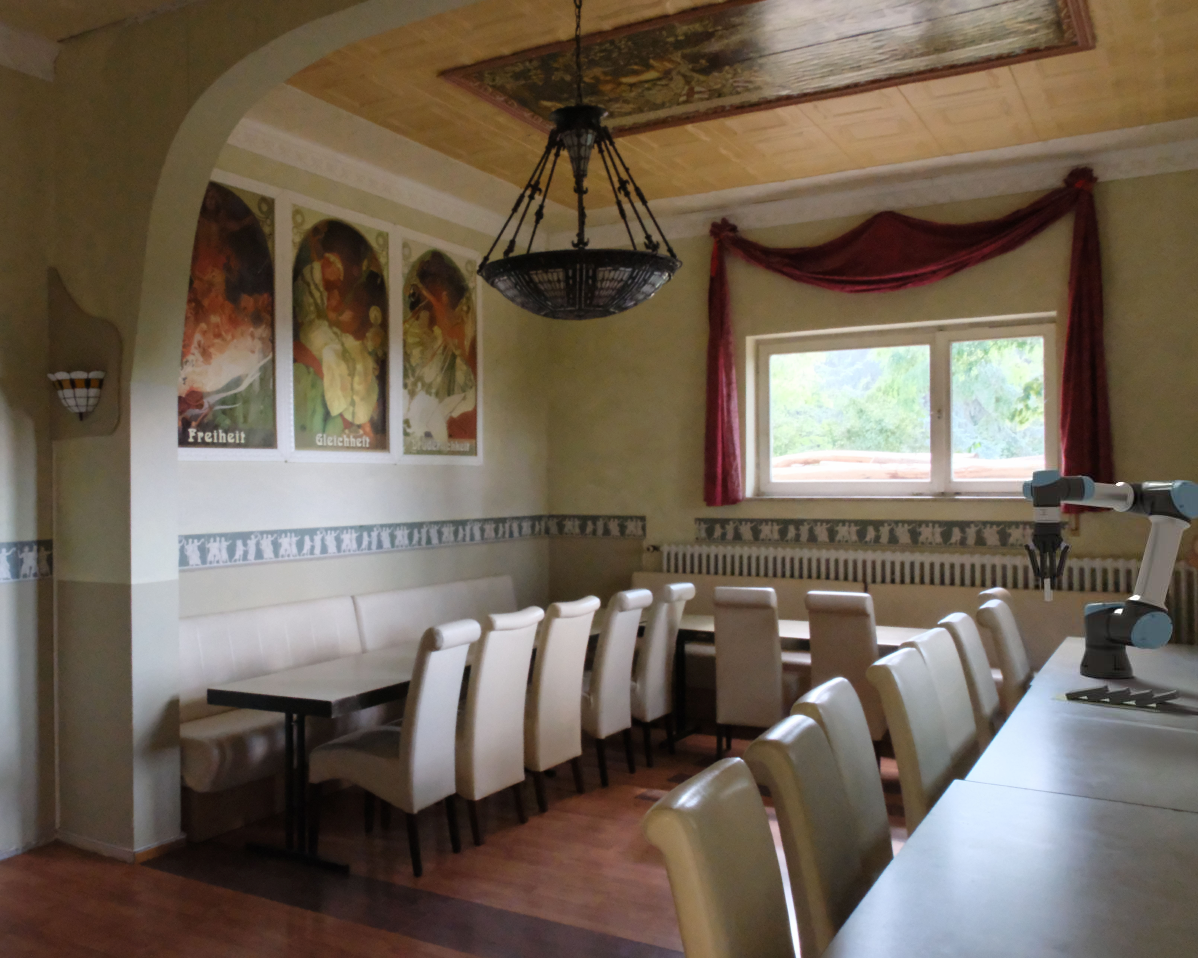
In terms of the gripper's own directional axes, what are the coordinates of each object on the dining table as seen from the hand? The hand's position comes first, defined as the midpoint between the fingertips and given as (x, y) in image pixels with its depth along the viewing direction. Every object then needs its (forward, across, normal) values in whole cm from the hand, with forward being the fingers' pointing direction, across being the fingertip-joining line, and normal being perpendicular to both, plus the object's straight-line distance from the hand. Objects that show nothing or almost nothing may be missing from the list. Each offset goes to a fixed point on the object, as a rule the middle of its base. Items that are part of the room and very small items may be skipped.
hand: (1048, 600), depth 289 cm
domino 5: (+25, +31, -12) cm, 41 cm away
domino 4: (+25, +26, -12) cm, 38 cm away
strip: (+26, +18, -12) cm, 34 cm away
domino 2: (+25, +14, -12) cm, 31 cm away
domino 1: (+25, +8, -12) cm, 29 cm away
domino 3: (+25, +20, -12) cm, 34 cm away
